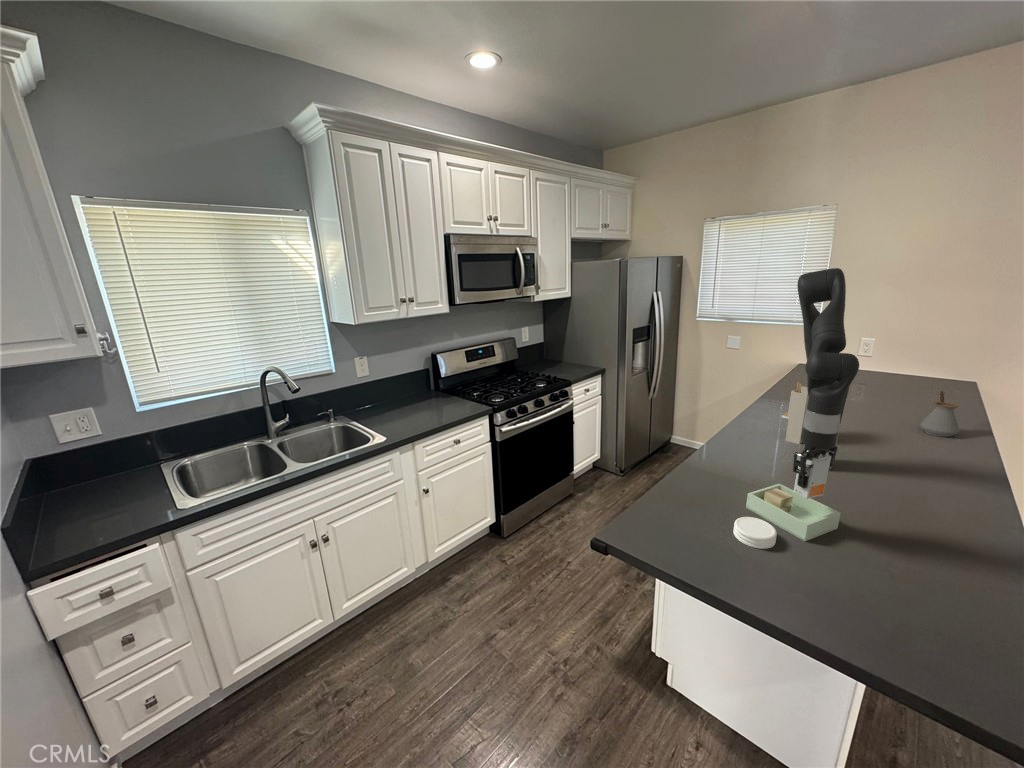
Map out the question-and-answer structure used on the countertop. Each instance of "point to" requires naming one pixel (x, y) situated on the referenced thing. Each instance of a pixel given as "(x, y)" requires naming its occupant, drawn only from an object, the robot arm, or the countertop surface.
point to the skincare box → (815, 478)
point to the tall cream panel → (796, 414)
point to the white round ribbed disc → (755, 532)
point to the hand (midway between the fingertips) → (810, 483)
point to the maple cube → (779, 499)
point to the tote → (795, 514)
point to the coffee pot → (941, 420)
